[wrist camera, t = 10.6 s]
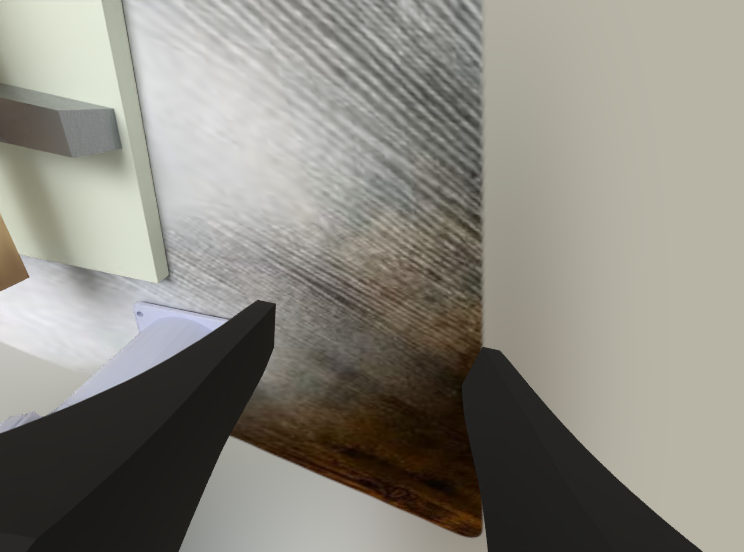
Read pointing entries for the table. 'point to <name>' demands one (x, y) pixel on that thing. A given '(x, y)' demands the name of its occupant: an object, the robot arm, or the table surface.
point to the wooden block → (9, 260)
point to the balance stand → (75, 140)
